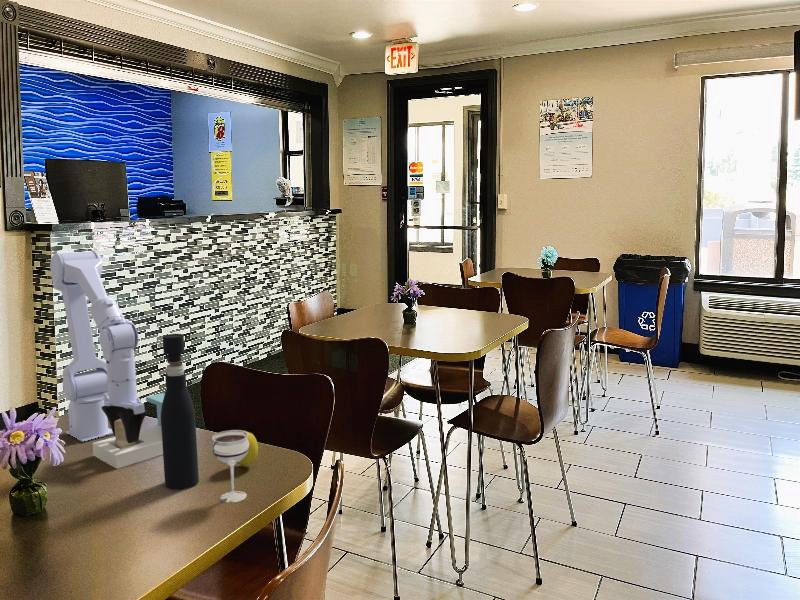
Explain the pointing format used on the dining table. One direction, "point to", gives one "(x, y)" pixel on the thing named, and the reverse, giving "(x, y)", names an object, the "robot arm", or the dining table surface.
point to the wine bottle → (178, 421)
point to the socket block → (144, 447)
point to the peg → (121, 435)
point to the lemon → (250, 451)
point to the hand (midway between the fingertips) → (126, 438)
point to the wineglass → (231, 456)
